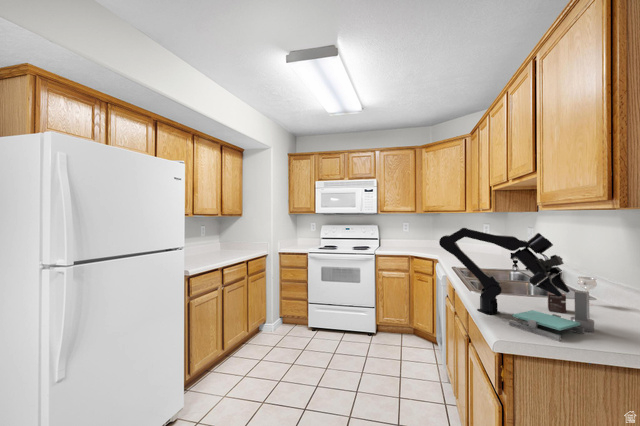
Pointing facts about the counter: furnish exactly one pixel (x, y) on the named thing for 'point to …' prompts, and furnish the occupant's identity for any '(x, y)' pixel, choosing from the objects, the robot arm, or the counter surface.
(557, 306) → the box
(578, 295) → the gray metal handle
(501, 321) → the counter surface
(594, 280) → the wineglass
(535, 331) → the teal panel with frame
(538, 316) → the trapdoor
